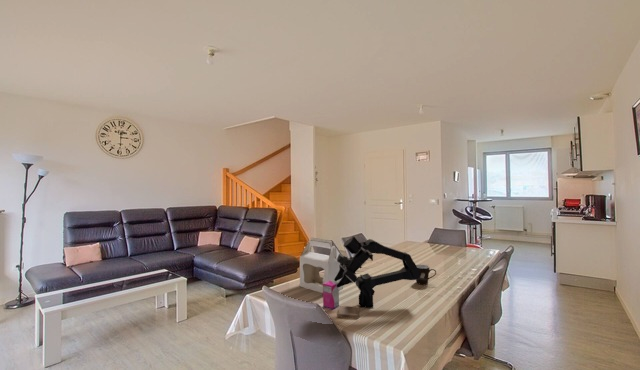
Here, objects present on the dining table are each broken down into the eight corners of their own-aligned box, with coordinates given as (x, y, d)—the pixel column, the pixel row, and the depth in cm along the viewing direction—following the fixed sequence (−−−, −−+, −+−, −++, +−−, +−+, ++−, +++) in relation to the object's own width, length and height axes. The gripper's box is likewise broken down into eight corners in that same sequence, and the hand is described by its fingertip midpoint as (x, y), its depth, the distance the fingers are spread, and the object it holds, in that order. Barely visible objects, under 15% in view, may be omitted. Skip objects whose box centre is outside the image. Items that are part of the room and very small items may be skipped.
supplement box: (329, 303, 149) (329, 280, 149) (339, 306, 145) (339, 282, 145) (322, 306, 145) (322, 283, 145) (332, 310, 141) (332, 285, 141)
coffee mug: (412, 283, 179) (411, 266, 179) (418, 279, 185) (418, 263, 185) (431, 287, 171) (431, 270, 171) (437, 283, 178) (436, 267, 178)
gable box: (299, 286, 174) (299, 238, 174) (314, 280, 184) (314, 235, 184) (328, 295, 160) (328, 243, 160) (343, 288, 170) (343, 239, 170)
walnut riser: (358, 310, 140) (358, 307, 140) (358, 318, 132) (358, 315, 132) (339, 309, 142) (339, 305, 142) (337, 317, 133) (337, 314, 133)
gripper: (343, 245, 155) (322, 266, 154) (349, 253, 136) (325, 278, 135) (358, 259, 155) (337, 281, 155) (366, 270, 137) (343, 294, 136)
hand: (335, 283), depth 145 cm, fingers open, 9 cm apart
